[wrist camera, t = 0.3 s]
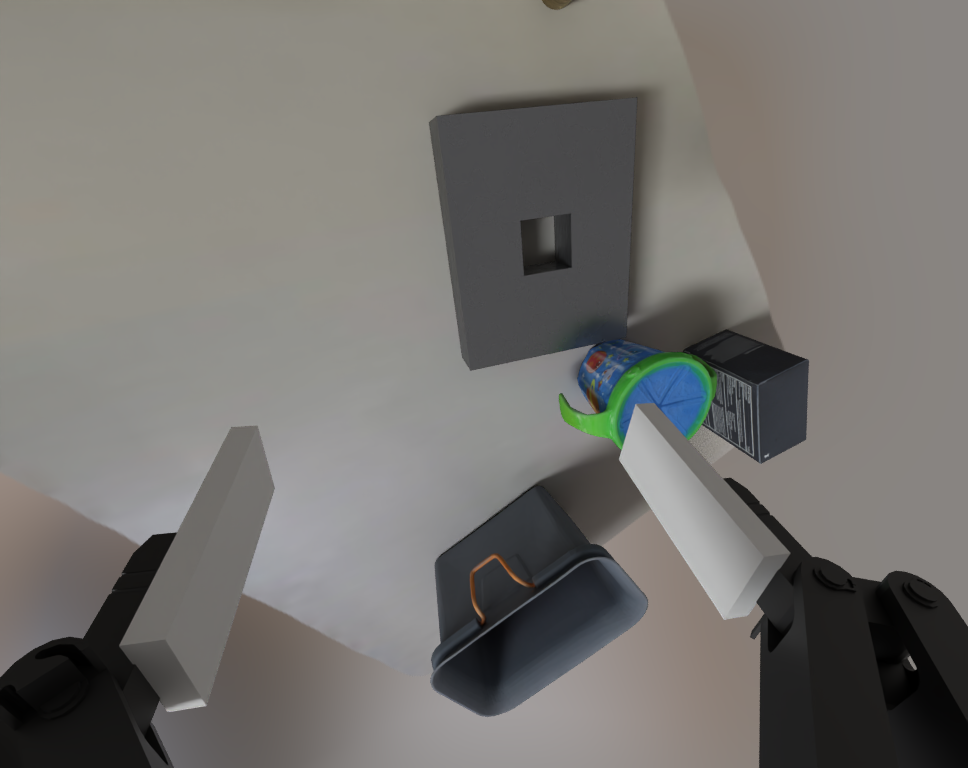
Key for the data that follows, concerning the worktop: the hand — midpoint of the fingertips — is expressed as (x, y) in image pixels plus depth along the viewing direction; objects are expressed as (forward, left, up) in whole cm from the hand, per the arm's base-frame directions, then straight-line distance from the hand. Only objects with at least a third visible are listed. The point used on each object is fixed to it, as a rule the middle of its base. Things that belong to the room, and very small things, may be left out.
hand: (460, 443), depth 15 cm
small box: (+17, +35, -26) cm, 47 cm away
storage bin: (+32, +6, -26) cm, 42 cm away
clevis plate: (-2, +13, -26) cm, 29 cm away
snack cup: (+13, +21, -26) cm, 36 cm away
